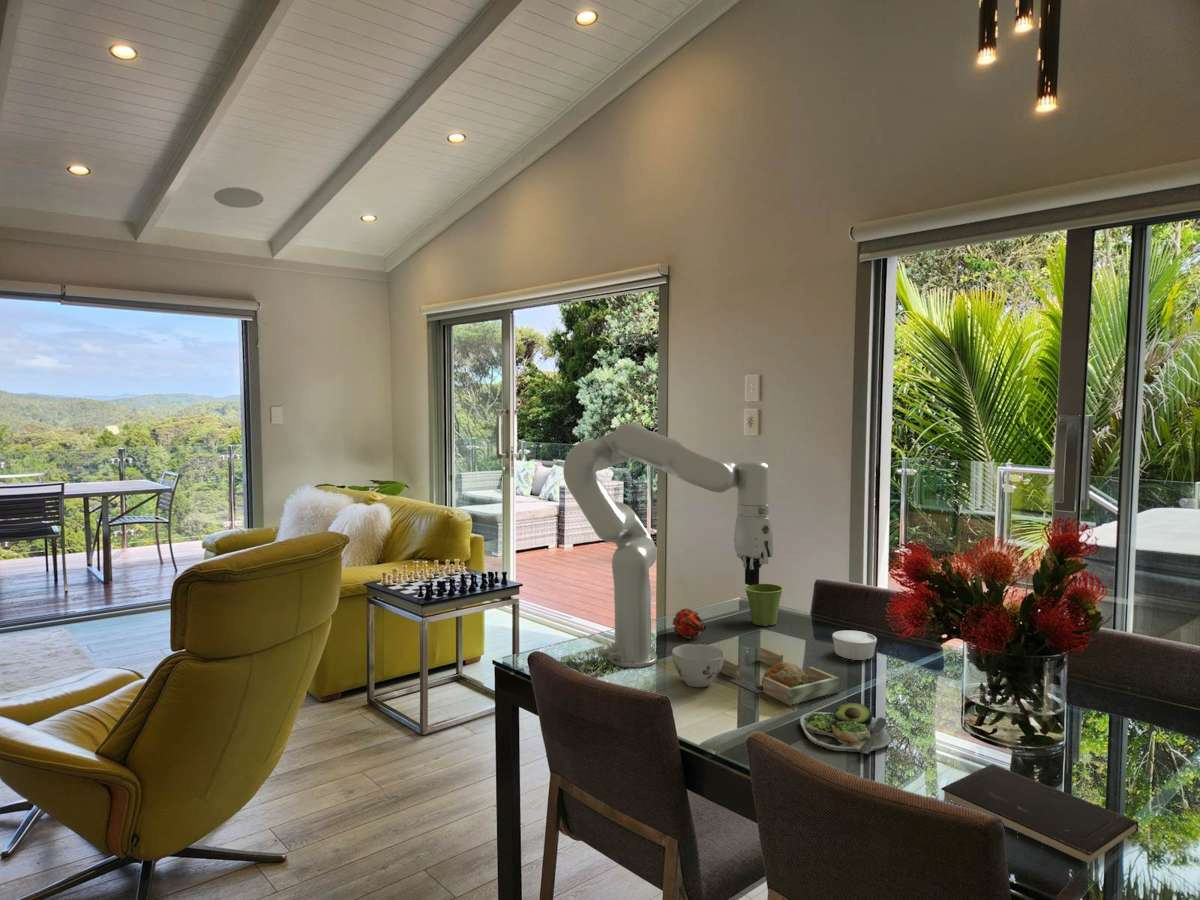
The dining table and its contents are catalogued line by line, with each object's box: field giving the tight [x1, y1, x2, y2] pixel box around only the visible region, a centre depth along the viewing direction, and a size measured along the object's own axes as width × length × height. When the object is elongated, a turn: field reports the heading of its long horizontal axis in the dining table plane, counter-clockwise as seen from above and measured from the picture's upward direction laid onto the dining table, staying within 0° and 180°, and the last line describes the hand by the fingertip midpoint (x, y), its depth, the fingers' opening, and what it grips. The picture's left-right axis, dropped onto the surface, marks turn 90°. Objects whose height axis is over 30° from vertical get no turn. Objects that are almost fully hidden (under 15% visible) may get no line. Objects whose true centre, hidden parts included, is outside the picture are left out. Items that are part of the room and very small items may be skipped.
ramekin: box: [831, 629, 878, 661], centre depth 203 cm, size 11×11×5 cm
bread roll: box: [761, 662, 809, 688], centre depth 179 cm, size 10×10×8 cm
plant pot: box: [743, 582, 785, 627], centre depth 233 cm, size 12×12×11 cm
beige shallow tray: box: [719, 646, 841, 706], centre depth 184 cm, size 19×27×4 cm
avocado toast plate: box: [799, 702, 892, 755], centre depth 152 cm, size 19×18×5 cm
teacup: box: [671, 643, 726, 688], centre depth 184 cm, size 15×12×8 cm
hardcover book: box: [941, 763, 1139, 864], centre depth 123 cm, size 16×23×2 cm
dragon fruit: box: [672, 608, 707, 640], centre depth 221 cm, size 8×8×12 cm
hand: (751, 584), depth 190 cm, fingers closed
